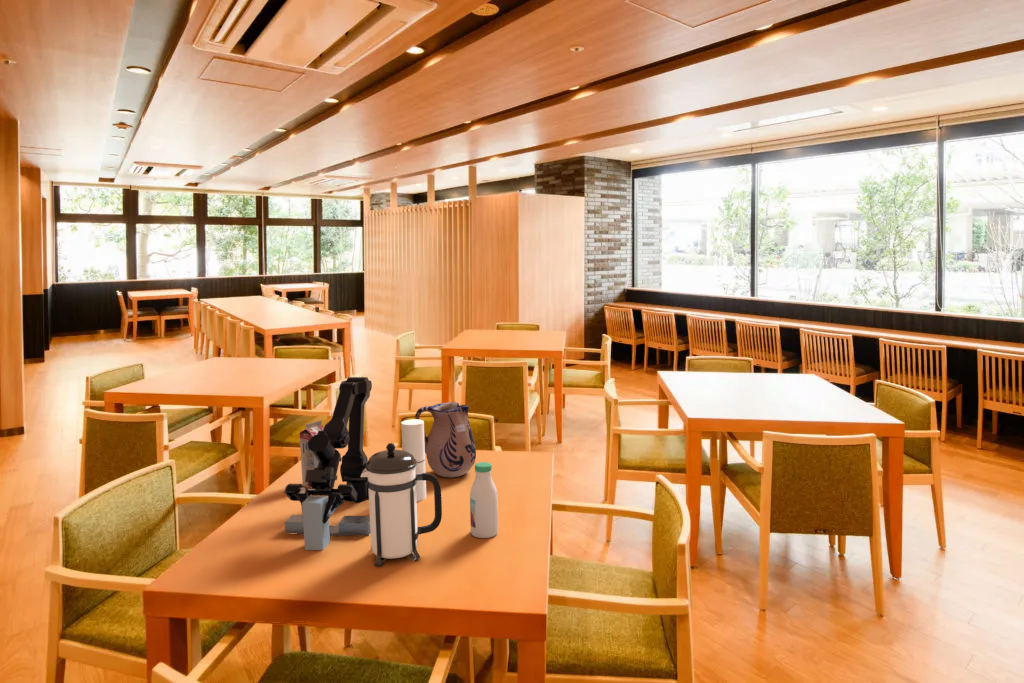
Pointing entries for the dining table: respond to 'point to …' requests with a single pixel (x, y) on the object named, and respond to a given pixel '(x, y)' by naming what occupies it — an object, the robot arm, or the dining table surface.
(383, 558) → the coffee press
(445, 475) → the ceramic pitcher
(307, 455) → the juice carton
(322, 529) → the peg
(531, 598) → the dining table surface
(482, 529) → the milk bottle
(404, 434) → the cylindrical container
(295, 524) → the rail
